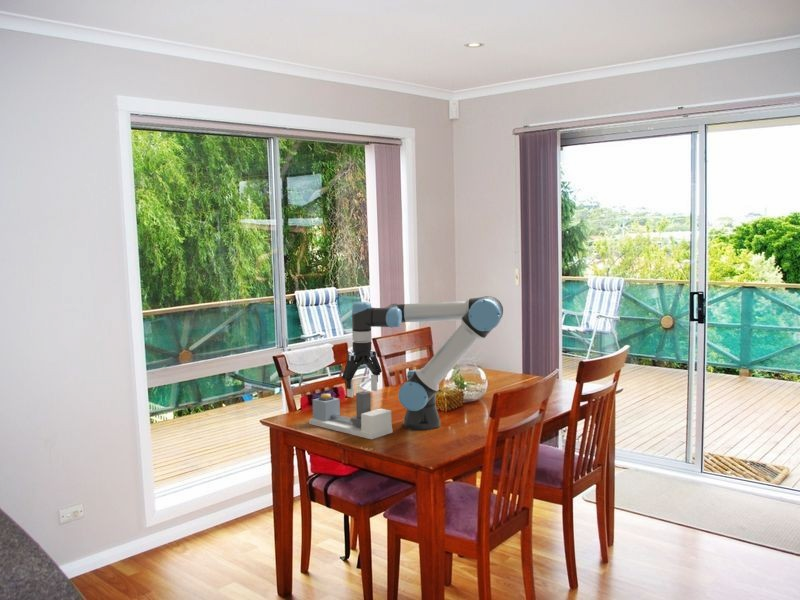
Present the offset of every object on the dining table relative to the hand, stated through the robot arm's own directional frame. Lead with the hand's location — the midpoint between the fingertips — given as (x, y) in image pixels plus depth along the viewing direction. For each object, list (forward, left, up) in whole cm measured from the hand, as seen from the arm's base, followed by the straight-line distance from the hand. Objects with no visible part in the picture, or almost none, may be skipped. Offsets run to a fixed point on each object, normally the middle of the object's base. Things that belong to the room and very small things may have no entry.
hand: (362, 393), depth 289 cm
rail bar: (+7, 0, -13) cm, 15 cm away
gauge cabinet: (+22, 0, -13) cm, 26 cm away
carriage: (0, 0, -13) cm, 13 cm away
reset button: (+22, 0, -8) cm, 23 cm away
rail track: (+8, 0, -15) cm, 17 cm away
